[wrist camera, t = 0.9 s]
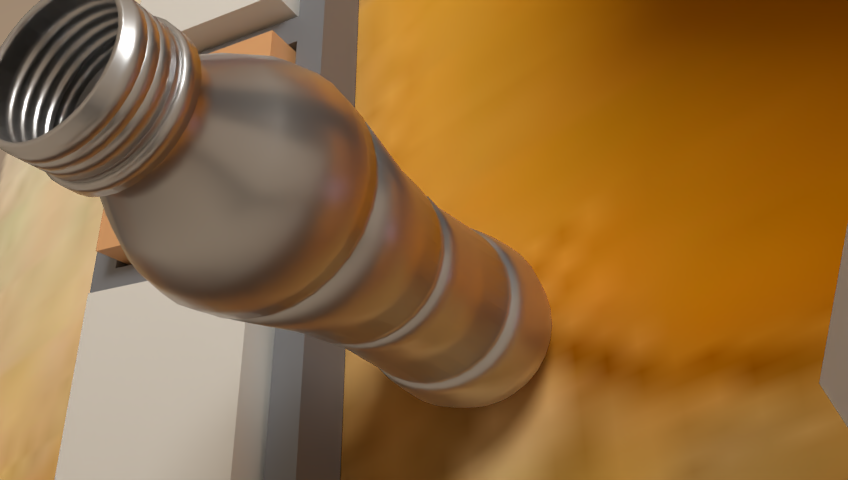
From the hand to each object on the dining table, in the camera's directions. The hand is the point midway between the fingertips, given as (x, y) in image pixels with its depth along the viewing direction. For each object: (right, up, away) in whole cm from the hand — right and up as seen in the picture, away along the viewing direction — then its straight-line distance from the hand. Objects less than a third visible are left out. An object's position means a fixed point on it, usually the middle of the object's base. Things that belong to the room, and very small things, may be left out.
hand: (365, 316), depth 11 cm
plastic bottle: (+3, -3, +19) cm, 20 cm away
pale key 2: (-9, -5, +22) cm, 24 cm away
